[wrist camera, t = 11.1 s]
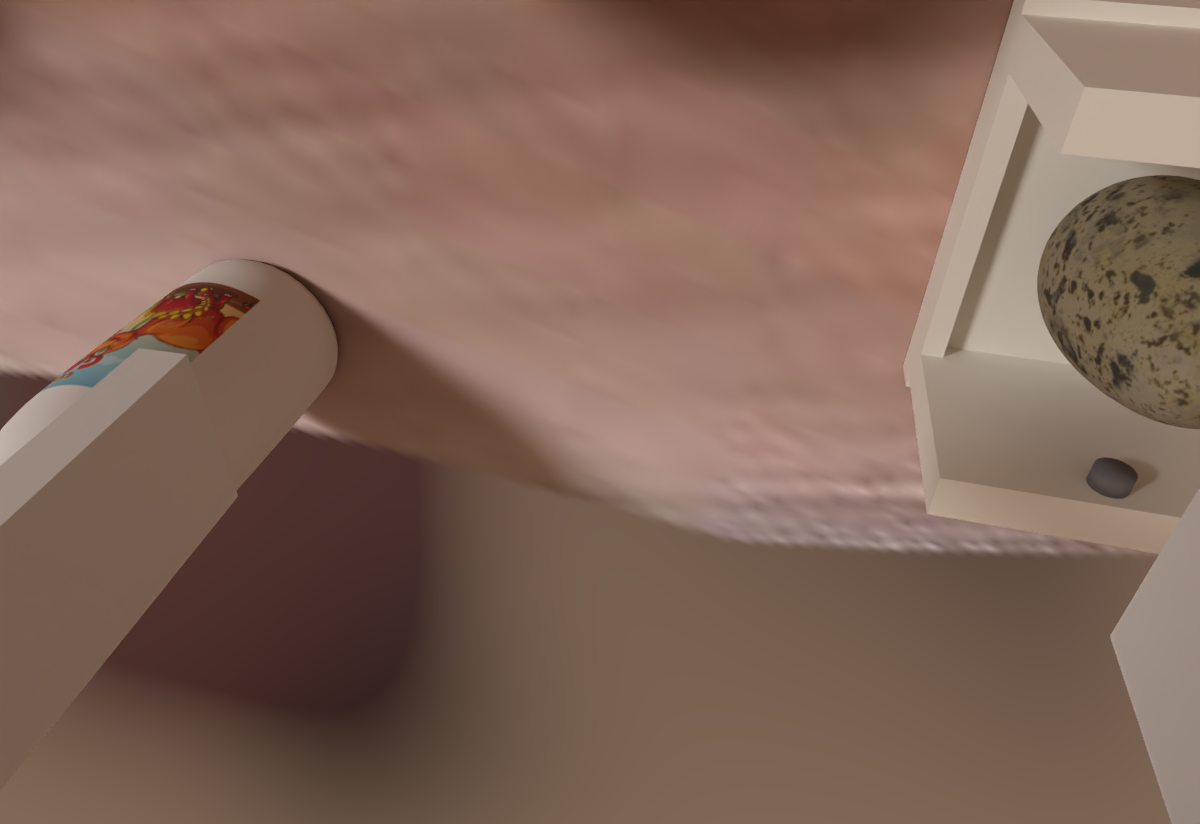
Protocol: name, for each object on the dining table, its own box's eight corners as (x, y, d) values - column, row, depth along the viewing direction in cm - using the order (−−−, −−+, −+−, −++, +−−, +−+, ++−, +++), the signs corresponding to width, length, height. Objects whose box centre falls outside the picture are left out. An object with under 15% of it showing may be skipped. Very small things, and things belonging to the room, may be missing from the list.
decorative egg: (1270, 209, 26) (1455, 384, 18) (1111, 340, 30) (1210, 532, 22) (1125, 105, 26) (1254, 241, 18) (979, 252, 29) (1033, 419, 21)
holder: (1018, -14, 26) (1093, 63, 18) (1382, 13, 24) (1629, 110, 17) (903, 366, 34) (922, 525, 27) (1168, 404, 32) (1268, 585, 25)
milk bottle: (354, 295, 38) (17, 642, 22) (332, 415, 43) (42, 772, 27) (196, 227, 38) (-256, 530, 22) (192, 356, 43) (-183, 681, 27)
